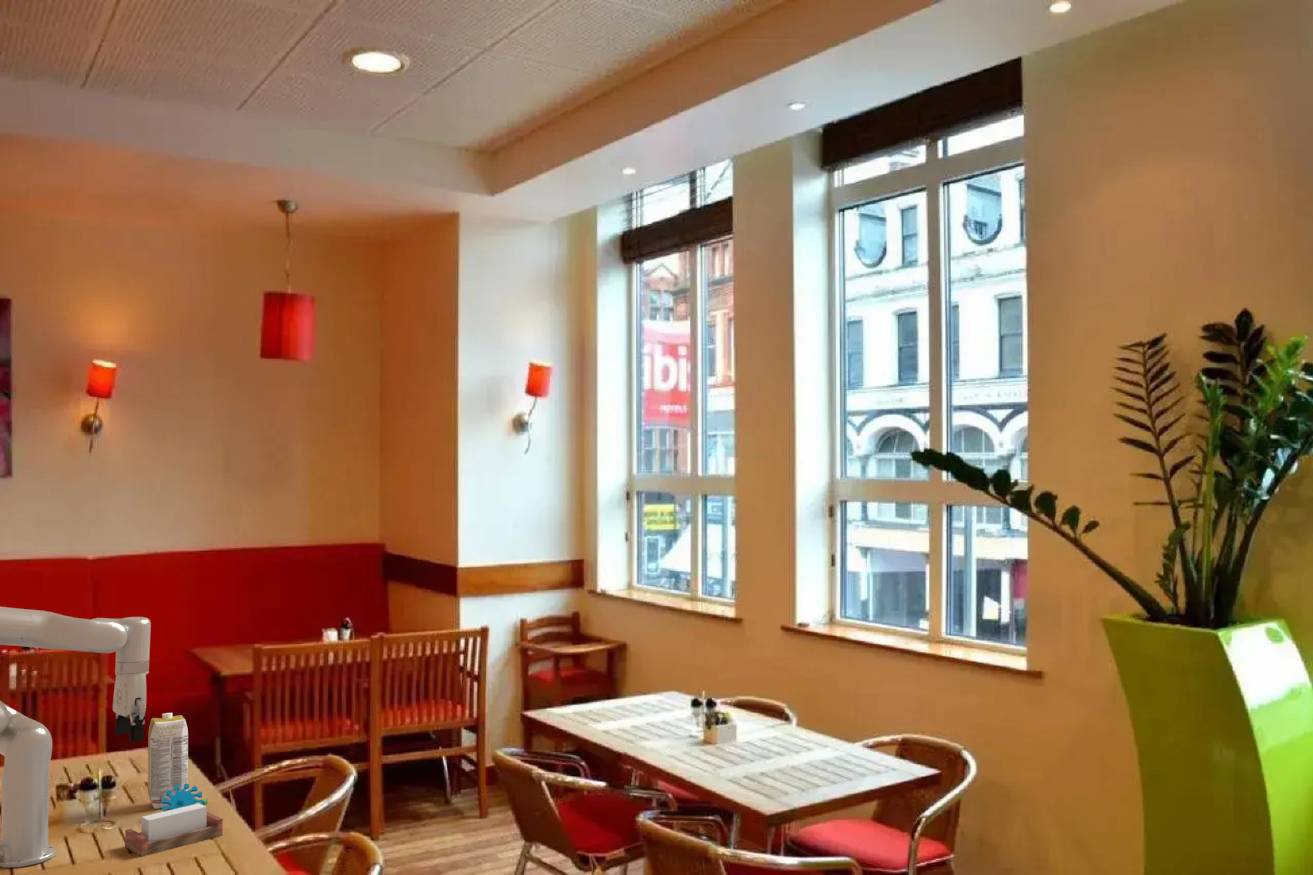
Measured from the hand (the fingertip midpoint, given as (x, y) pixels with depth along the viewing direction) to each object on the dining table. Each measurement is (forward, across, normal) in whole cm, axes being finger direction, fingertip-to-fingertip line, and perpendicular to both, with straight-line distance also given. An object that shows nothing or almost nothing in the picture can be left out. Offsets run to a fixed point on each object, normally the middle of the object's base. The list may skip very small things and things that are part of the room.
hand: (129, 737), depth 272 cm
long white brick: (+22, +13, +7) cm, 27 cm away
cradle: (+23, +13, +7) cm, 28 cm away
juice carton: (+23, -18, +17) cm, 34 cm away
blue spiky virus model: (+23, -4, +16) cm, 29 cm away
